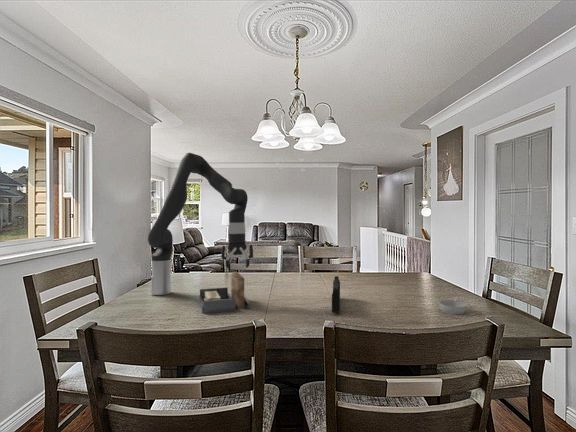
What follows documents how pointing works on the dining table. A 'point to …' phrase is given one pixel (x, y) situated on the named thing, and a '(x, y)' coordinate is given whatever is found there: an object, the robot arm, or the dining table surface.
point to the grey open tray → (219, 301)
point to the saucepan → (453, 306)
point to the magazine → (336, 296)
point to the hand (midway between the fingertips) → (237, 267)
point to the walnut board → (237, 289)
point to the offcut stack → (211, 295)
